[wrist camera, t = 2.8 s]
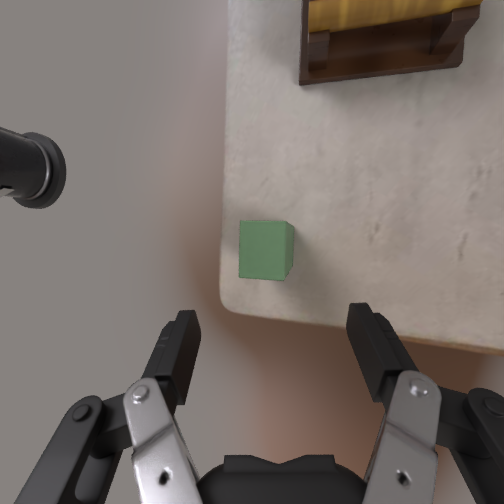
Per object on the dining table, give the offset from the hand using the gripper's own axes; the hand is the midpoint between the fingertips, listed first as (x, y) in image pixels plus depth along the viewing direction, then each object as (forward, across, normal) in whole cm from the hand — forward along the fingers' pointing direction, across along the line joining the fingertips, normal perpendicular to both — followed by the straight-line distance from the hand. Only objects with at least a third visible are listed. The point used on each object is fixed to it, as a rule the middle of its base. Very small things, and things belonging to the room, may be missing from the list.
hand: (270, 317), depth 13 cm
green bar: (+17, -1, +6) cm, 18 cm away
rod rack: (+26, -13, -16) cm, 33 cm away
